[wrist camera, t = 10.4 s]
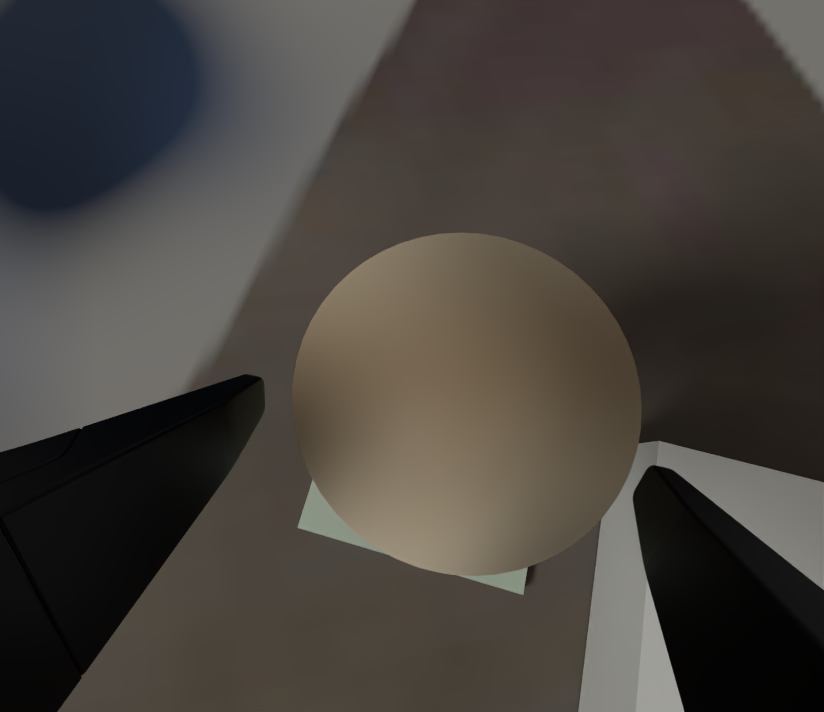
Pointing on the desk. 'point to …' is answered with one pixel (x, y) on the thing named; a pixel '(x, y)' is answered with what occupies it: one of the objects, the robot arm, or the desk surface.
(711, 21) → the desk surface
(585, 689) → the pocket block
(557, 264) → the wooden peg
